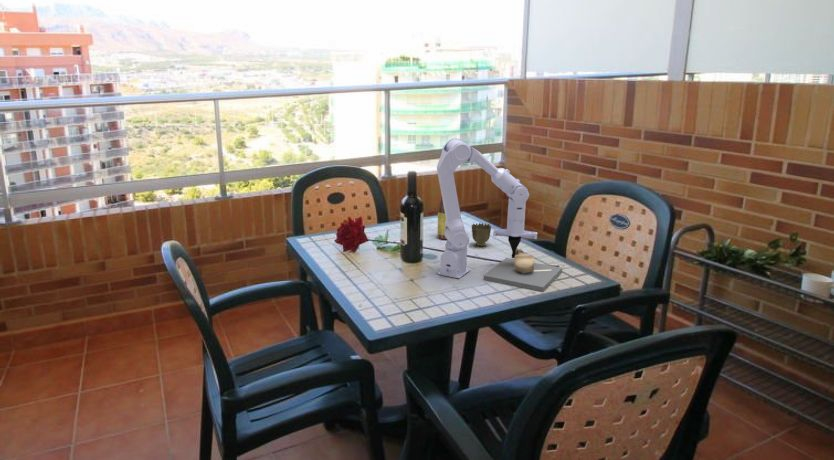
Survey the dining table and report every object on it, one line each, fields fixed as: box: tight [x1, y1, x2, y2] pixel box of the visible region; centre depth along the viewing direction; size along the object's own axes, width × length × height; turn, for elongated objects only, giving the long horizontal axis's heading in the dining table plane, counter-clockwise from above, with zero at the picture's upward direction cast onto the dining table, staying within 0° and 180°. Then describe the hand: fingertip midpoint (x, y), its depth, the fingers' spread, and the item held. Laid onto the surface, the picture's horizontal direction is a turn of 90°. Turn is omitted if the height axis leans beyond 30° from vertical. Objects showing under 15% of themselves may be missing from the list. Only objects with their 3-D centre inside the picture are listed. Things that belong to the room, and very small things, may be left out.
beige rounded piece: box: [514, 248, 535, 272], centre depth 204 cm, size 13×6×4 cm, turn 3°
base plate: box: [483, 257, 563, 293], centre depth 202 cm, size 20×20×2 cm
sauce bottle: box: [437, 197, 447, 241], centre depth 239 cm, size 7×6×20 cm
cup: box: [471, 222, 492, 248], centre depth 231 cm, size 8×7×8 cm
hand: (513, 257), depth 208 cm, fingers closed
